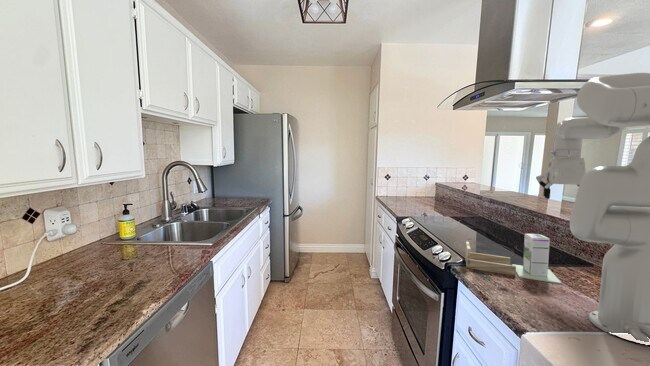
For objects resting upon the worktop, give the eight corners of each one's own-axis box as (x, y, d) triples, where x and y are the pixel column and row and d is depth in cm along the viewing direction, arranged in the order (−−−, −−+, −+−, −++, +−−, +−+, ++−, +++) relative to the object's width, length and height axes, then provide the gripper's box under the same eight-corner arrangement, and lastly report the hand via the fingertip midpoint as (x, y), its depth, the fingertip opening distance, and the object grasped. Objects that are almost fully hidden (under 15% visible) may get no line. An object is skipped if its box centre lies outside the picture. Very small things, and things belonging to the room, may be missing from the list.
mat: (561, 284, 89) (561, 282, 88) (519, 277, 94) (519, 276, 94) (549, 270, 99) (549, 269, 99) (512, 265, 105) (512, 264, 104)
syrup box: (548, 276, 93) (551, 238, 92) (529, 275, 94) (532, 237, 93) (539, 270, 98) (542, 233, 97) (521, 268, 100) (524, 232, 99)
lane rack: (515, 275, 95) (516, 255, 94) (466, 267, 102) (467, 248, 101) (509, 265, 104) (510, 246, 103) (465, 259, 111) (466, 241, 110)
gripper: (541, 154, 96) (537, 199, 98) (603, 153, 89) (599, 202, 90) (535, 154, 103) (532, 196, 104) (593, 154, 95) (588, 199, 97)
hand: (563, 199), depth 97 cm, fingers open, 9 cm apart
